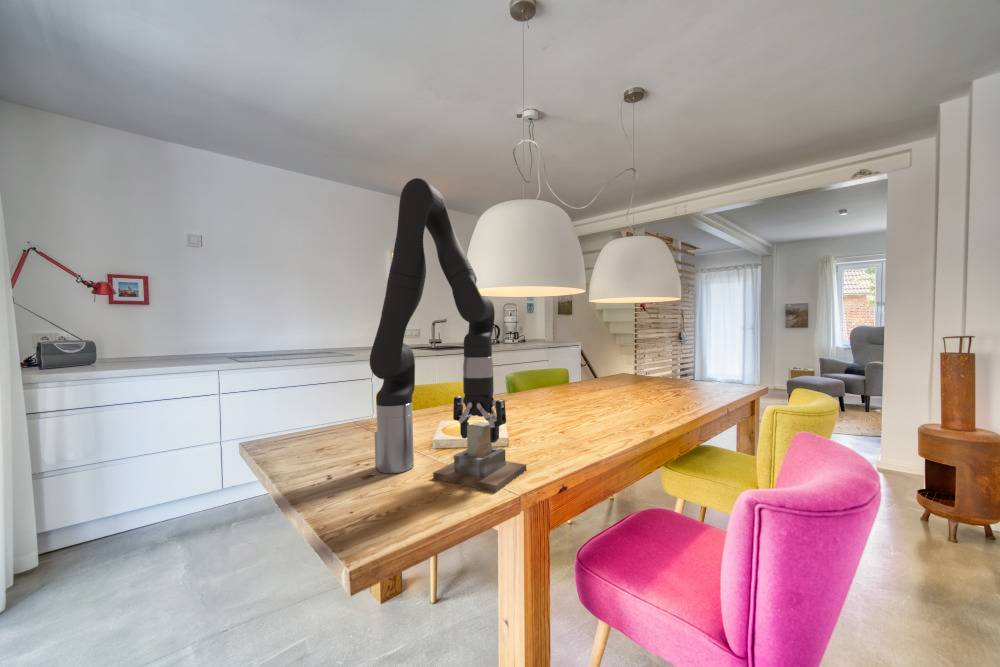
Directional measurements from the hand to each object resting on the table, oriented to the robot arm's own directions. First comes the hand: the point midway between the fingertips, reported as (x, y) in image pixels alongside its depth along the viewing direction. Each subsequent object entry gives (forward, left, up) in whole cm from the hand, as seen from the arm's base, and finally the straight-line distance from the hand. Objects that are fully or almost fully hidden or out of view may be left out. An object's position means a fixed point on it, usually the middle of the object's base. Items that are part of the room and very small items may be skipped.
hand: (479, 439), depth 97 cm
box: (0, 0, -7) cm, 7 cm away
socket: (0, 0, -9) cm, 9 cm away
